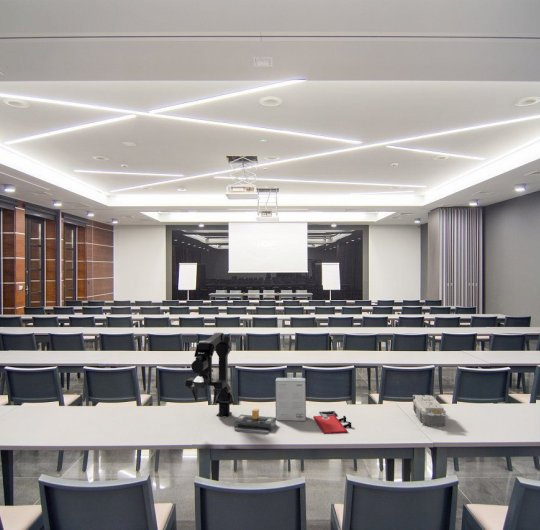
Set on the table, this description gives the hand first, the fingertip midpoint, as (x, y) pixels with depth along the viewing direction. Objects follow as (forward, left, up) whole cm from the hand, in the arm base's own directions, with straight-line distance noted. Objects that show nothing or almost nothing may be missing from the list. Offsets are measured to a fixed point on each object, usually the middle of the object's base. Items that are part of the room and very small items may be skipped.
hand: (205, 402), depth 194 cm
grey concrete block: (-47, +102, -15) cm, 113 cm away
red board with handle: (-31, +54, -15) cm, 64 cm away
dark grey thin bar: (-9, +20, -14) cm, 26 cm away
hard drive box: (-31, +34, -15) cm, 48 cm away
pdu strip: (-15, +20, -14) cm, 29 cm away
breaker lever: (-15, +20, -10) cm, 27 cm away
